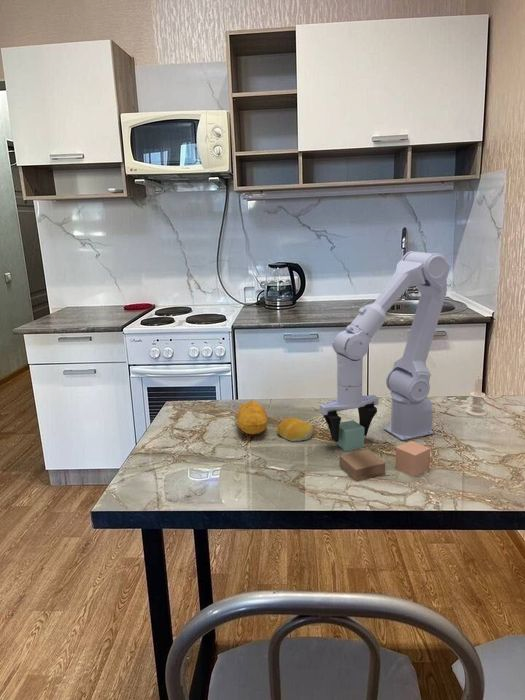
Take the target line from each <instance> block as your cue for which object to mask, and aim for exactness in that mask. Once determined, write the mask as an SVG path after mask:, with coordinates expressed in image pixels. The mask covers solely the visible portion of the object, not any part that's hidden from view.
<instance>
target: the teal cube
mask: <svg viewBox="0 0 525 700" xmlns="http://www.w3.org/2000/svg"><path fill="white" fill-rule="evenodd" d="M334 443H335V444H336V445H337V444H338V445H339V446H338V445H337V446H338V447H340V448H341V449H342V448H343V449H344V452H349V451H352V450H356V449H361V448H364V447H365V436H364V427H363V426H361V425H360V424H359V422H357V421H355V420H354V419H352V420H347V421H343V422H341V421H340V426H339V441H338V442H335V441H334ZM343 449H342V450H343ZM348 450H349V451H348Z"/></svg>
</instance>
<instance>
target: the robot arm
mask: <svg viewBox="0 0 525 700" xmlns="http://www.w3.org/2000/svg"><path fill="white" fill-rule="evenodd" d="M450 269H451V266H450V264H449V262H448V261H447V258H446V257H445V256H444V254H441V253H438V252H435V253H434V252H433V253H432V252H423V251H422V252H421V251H416V250H411V251H408V252H406V253H405V254H404V255H403V257H402V259H401V260H399V262H397V264H396V269H395V272H394V273H393V275H392V276H391V277H390V278H389V281H387V283H386V285H385V286H384V287H383V289H382V290H381V292H380V293H379V295H378V296H377V298H376V299H375V301H374V302H373V303H369V304H365V305H364V306H363V307H360V308H359V310H358V314H357V315H356V317H355V318H354V319H353V321H351V323H350V324H348V325H347V326H346V327H345V330H342V331H340V332H339V333H337V335H336V336H335V338H334V340H333V342H332V343H331V347H332V349H333V351H334V352H335V353H336V362H337V363H336V365H337V366H336V367H337V368H336V374H337V377H336V380H337V381H336V384H337V385H336V388H337V391H336V395H337V396H336V398H335V399H333V400H331V401H328V402H325V403H321V404H319V413H320V414H322V416H323V418H324V420H325V421H326V424H327V426H328V429H329V432H330V438H331V440H332V441H333V442H334V443H335V442H338V441H339V426H340V423H341V420H342V417H341V416H339V415H338V414H339V413H338V412H343V411H346V410H354V409H357V410H358V411H357V413H358V417H359V420H358V421H359V422H358V424H360V425H361V426H363V427H364V437H367V436H368V433H369V429H370V426H371V423H372V421H373V419H374V417H375V415H377V413H378V408H377V407H376V406H379V396H377V395H375V394H372V395H363V368H364V367H363V365H364V363H363V359H364V357H365V356H366V355H367V354H368V352H369V348H370V347H369V346H370V343H371V340H372V338H373V337H375V334H376V333H377V332H378V331H379V329H380V328H381V327H382V326H383V324H384V323H385V322H386V319H387V318H386V317H387V316H386V313H387V311H389V310H390V308H392V306H393V305H395V303H396V301H397V300H398V299H399V298H401V296H403V294H404V293H405V292H406V291H407V290H408V289H409V288H410V287H416V289H417V290H418V292H419V293H420V297H419V299H418V303H417V307H416V310H415V313H414V317H413V321H412V324H411V326H410V331H409V334H408V338H407V341H406V344H405V348H404V351H403V354H402V356H401V358H399V359H397V360H396V361H394V363H393V367H392V368H391V370H390V371H389V372H388V373H387V376H386V380H385V383H386V387H387V389H388V390H389V391H390V396H391V413H390V414H391V416H390V417H391V418H390V425H386V426H383V430H385V431H386V432H387V433H389V434H391V435H392V436H393V437H394V436H395V437H396V438H397V439H398V440H401V441H406V440H411V439H415V438H420V437H425V436H428V435H433V434H435V433H434V432H435V431H434V430H433V429H432V428H433V411H434V410H433V404H432V401H431V399H430V398H429V397H428V396H429V393H430V388H431V385H430V379H431V376H432V373H431V371H430V370H429V367H428V366H427V364H426V363H427V360H428V356H429V353H430V350H431V346H432V343H433V340H434V336H435V333H436V329H437V326H438V323H439V320H440V316H441V313H442V309H443V306H444V302H445V299H446V296H447V291H448V284H447V283H448V281H447V279H448V277H449V274H450Z"/></svg>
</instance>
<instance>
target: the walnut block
mask: <svg viewBox="0 0 525 700" xmlns="http://www.w3.org/2000/svg"><path fill="white" fill-rule="evenodd" d="M340 467H341V468H340ZM339 468H340V469H341V470H343V471H344V472H345V473H346V474H347V475H348V476H349V477H350V478H351V479H352V480H354V482H359V481H364V480H368V479H371V478H372V479H373V478H376V477H379V476H381V477H382V476H384V475H386V462H385V461H383V460H382V459H380V458H379V456H377V455H376V454H374V452H372V451H370V450H369V449H368V448H367V449H363V450H359V451H354V452H350V453H349V452H348V453H345V454H341V455H339Z"/></svg>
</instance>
